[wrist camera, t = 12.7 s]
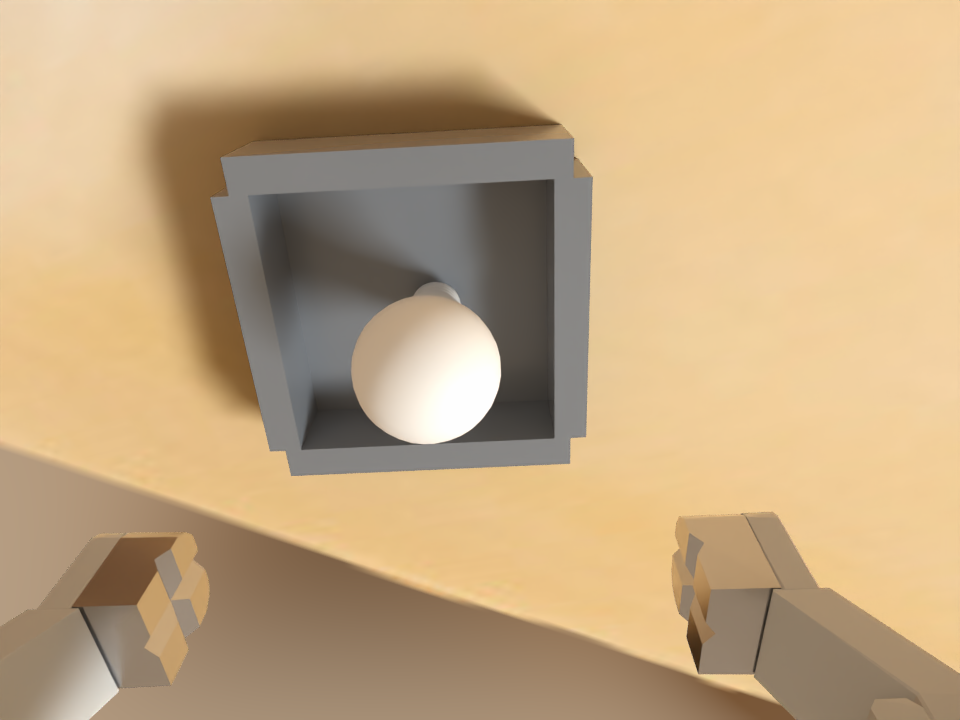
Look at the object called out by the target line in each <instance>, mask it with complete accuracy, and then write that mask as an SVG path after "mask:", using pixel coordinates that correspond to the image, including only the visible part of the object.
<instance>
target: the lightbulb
mask: <svg viewBox="0 0 960 720" xmlns="http://www.w3.org/2000/svg"><path fill="white" fill-rule="evenodd" d="M351 376H352V382H353V389H354V391H355V394H356V396H357V399H358V401H359V404H360V406H361V408H362V409H363V411H364V412H365V414H366V415H367V417H368V418H369V419H370V420H371V421H372V422H373V423H374V424H375V425H376V426H377V427H379V428H380V429H382V430H383V431H384V432H386V433H387V434H389V435H391V436H393V437H396V438H398V439H400V440H403V441H407V442H410V443H417V444H436V443H441V442H445V441H449V440H452V439H454V438H457V437H459V436H462V435H463V434H465V433H466V432H468V431H470V430H471V429H472V428H473V427H475V426H476V425H477V424H478V423H479V422H480V421H481V420H482V419H483V417H484V416H485V415H486V413H487V412H488V410H489V409H490V408H491V406H492V404H493V401H494V399H495V397H496V394H497V392H498V389H499V384H500V378H501V363H500V355H499V351H498V347H497V344H496V342H495V340H494V338H493V336H492V334H491V332H490V330H489V329H488V328H487V326H486V325H485V324H484V322H483V321H482V320H481V319H480V317H479V316H477V315H476V314H475V313H474V312H473V311H471V310H470V309H469V308H467V307H466V306H464V305H462V304H461V302H460V299H459V296H458V294H457V293H456V291H455V290H454V289H453V288H452V287H450V286H449V285H447V284H444V283H441V282H430V283H427V284H424V285H422V286H421V287H420V288H419V289H418V290H417V291H416V292H415V294H414V296H412V297H408V298H404V299H401V300H399V301H396V302H394V303H392V304H390V305H388V306H387V307H386V308H384V309H383V310H381V311H380V312H379V313H377V314H376V315H375V316H374V317H373V318H372V319H371V320H370V321H369V322H368V323H367V324H366V326H365V327H364V329H363V330H362V332H361V334H360V336H359V337H358V340H357V342H356V345H355V348H354V352H353V355H352V365H351Z"/></svg>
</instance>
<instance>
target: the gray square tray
mask: <svg viewBox="0 0 960 720" xmlns="http://www.w3.org/2000/svg"><path fill="white" fill-rule="evenodd" d="M220 159H221V163H222V168H223V172H224V177H225V181H226V186H227V187H226V188H225V189H223V190H221V191H220V192H218V193H216V194H215V195H213V196H212V197H210V199H211V203H212V207H213V211H214V215H215V220H216V224H217V228H218V232H219V237H220V241H221V245H222V249H223V254H224V258H225V262H226V266H227V271H228V275H229V279H230V283H231V287H232V292H233V296H234V300H235V304H236V309H237V313H238V317H239V321H240V326H241V330H242V334H243V338H244V343H245V347H246V351H247V355H248V360H249V364H250V368H251V372H252V376H253V381H254V385H255V389H256V393H257V398H258V402H259V406H260V410H261V415H262V419H263V423H264V427H265V432H266V436H267V440H268V444H269V449H270V451H286V455H287V459H288V464H289V468H290V473H291V476H302V475H325V474H347V473H370V472H392V471H415V470H437V469H460V468H483V467H505V466H528V465H550V464H570V438H577V437H586V418H587V378H588V339H589V300H590V260H591V221H592V182H593V177H592V176H591V174H590V173H589V172H588V171H587V169H586V168H585V167H584V166H583V164H582V163H581V162H580V161H579V159H574V138H573V137H572V135H571V134H570V133H569V132H568V131H567V130H566V129H565V128H564V127H563V126H562V125H561V124H559V125H541V126H523V127H505V128H486V129H468V130H450V131H432V132H413V133H395V134H377V135H358V136H340V137H322V138H304V139H285V140H267V141H253V142H251V143H249V144H247V145H245V146H243V147H241V148H239V149H237V150H235V151H232V152H230V153H228V154H226V155H224V156H222V157H220ZM430 282H441V283H444V284H447V285H449V286H450V287H452V288H453V289H454V290H455V291H456V293H457V294H458V296H459V299H460V302H461V304H462V305H464V306H466V307H467V308H469V309H470V310H471V311H473V312H474V313H475V314H476V315H477V316H479V317H480V319H481V320H482V321H483V322H484V324H485V325H486V326H487V328H488V329H489V330H490V332H491V334H492V336H493V338H494V340H495V342H496V344H497V347H498V351H499V355H500V363H501V378H500V384H499V389H498V392H497V394H496V397H495V399H494V401H493V404H492V406H491V408H490V409H489V410H488V412H487V413H486V415H485V416H484V417H483V419H482V420H481V421H480V422H479V423H478V424H477V425H476V426H475V427H473V428H472V429H471V430H470V431H468V432H466V433H465V434H463V435H462V436H459V437H457V438H454V439H452V440H449V441H445V442H441V443H436V444H417V443H410V442H407V441H403V440H400V439H398V438H396V437H393V436H391V435H389V434H387V433H386V432H384V431H383V430H382V429H380V428H379V427H377V426H376V425H375V424H374V423H373V422H372V421H371V420H370V419H369V418H368V417H367V415H366V414H365V412H364V411H363V409H362V408H361V406H360V404H359V401H358V399H357V396H356V394H355V391H354V389H353V382H352V376H351V365H352V355H353V352H354V348H355V345H356V342H357V340H358V337H359V336H360V334H361V332H362V330H363V329H364V327H365V326H366V324H367V323H368V322H369V321H370V320H371V319H372V318H373V317H374V316H375V315H376V314H377V313H379V312H380V311H381V310H383V309H384V308H386V307H387V306H388V305H390V304H392V303H394V302H396V301H399V300H401V299H404V298H408V297H412V296H414V294H415V292H416V291H417V290H418V289H419V288H420V287H421V286H422V285H424V284H427V283H430Z"/></svg>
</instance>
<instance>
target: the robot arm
mask: <svg viewBox="0 0 960 720" xmlns="http://www.w3.org/2000/svg"><path fill="white" fill-rule="evenodd" d="M675 536H676V539H677V542H678V545H679V548H680V549H679V550H678V551H676V552H675V553H674V554H673V558H672V586H673V592H674V597H675V601H676V605H677V608H678V612H679V614H680V615H681V616H682V617H684V618H685V619H686V620H687V621H688V629H687V641H688V644H689V647H690V650H691V653H692V656H693V659H694V662H695V665H696V669H697V672H698V674H755V675H754V678H755V679H756V680H757V681H758V682H759V683H760V684H761V685H762V686H763V687H764V688H765V689H766V690H767V691H768V692H769V693H770V694H771V695H772V696H773V697H774V698H775V699H776V700H777V701H778V702H779V703H780V704H781V705H782V706H783V707H784V708H785V709H786V710H787V711H788V712H789V713H790V714H791V715H792V716H793V717H794V718H795V719H796V720H960V674H959V673H958V672H956V671H955V670H953V669H952V668H950V667H949V666H947V665H946V664H944V663H943V662H941V661H940V660H938V659H937V658H935V657H934V656H932V655H931V654H929V653H928V652H926V651H924V650H923V649H921V648H920V647H918V646H917V645H915V644H914V643H912V642H911V641H909V640H908V639H906V638H905V637H903V636H902V635H900V634H899V633H897V632H896V631H894V630H893V629H891V628H890V627H888V626H887V625H885V624H883V623H882V622H880V621H879V620H877V619H876V618H874V617H873V616H871V615H870V614H868V613H867V612H865V611H864V610H862V609H861V608H859V607H858V606H856V605H855V604H853V603H852V602H850V601H849V600H847V599H846V598H844V597H842V596H841V595H839V594H838V593H836V592H835V591H833V590H832V589H830V588H819V586H818V584H817V582H816V581H815V579H814V577H813V576H812V574H811V572H810V570H809V569H808V567H807V565H806V563H805V562H804V560H803V558H802V557H801V555H800V553H799V551H798V550H797V548H796V546H795V545H794V543H793V541H792V539H791V538H790V536H789V534H788V532H787V531H786V529H785V527H784V526H783V524H782V522H781V520H780V519H779V517H778V516H777V515H776V514H775V513H773V512H761V513H741V514H726V515H701V516H679V518H678V520H677V523H676V530H675ZM197 551H198V548H197V545H196V543H195V540H194V538H193V535H191V534H188V533H186V532H158V533H156V532H155V533H128V534H126V533H123V534H122V533H121V534H120V533H118V534H117V533H109V534H107V533H102V534H99V535H97V536H95V537H93V538H91V540H90V541H89V542H88V543H87V545H86V546H85V547H84V549H83V550H82V551H81V553H80V554H79V555H78V556H77V558H76V559H75V560H74V562H73V563H72V564H71V565H70V567H69V568H68V569H67V571H66V572H65V573H64V574H63V576H62V577H61V578H60V580H59V581H58V583H57V584H56V585H55V586H54V587H53V589H52V590H51V591H50V593H49V594H48V596H47V597H46V598H45V599H44V600H43V602H42V603H41V604H40V606H39V607H38V608H37V609H36V610H26V611H24V612H23V613H21V614H20V615H18V616H16V617H15V618H13V619H12V620H10V621H8V622H7V623H5V624H4V625H2V626H0V720H89V719H90V718H91V717H92V716H93V715H94V714H95V713H96V712H97V711H99V709H101V708H102V706H104V705H105V704H106V703H107V702H108V701H109V700H110V699H111V698H112V697H113V696H114V695H115V694H117V693H118V692H119V690H118V688H135V687H155V686H171V685H172V683H173V681H174V679H175V677H176V675H177V673H178V671H179V669H180V666H181V664H182V662H183V660H184V658H185V656H186V654H187V652H188V650H189V649H188V646H187V643H186V639H185V638H186V637H187V636H188V635H189V634H191V633H192V632H193V631H194V630H196V629H197V628H198V627H199V626H200V625H201V622H202V620H203V618H204V616H205V613H206V611H207V606H208V600H209V595H210V591H209V580H208V577H207V574H206V571H205V569H204V568H203V567H202V566H200V565H199V564H198V563H197V562H195V561H194V560H193V558H194V556H195V554H196V553H197Z"/></svg>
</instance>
